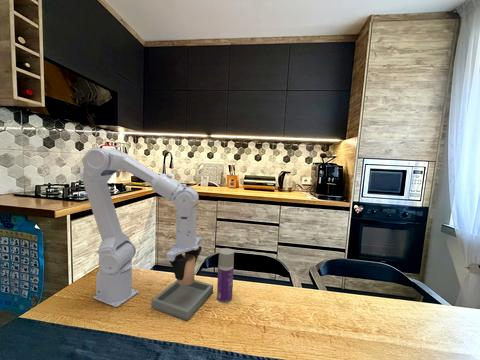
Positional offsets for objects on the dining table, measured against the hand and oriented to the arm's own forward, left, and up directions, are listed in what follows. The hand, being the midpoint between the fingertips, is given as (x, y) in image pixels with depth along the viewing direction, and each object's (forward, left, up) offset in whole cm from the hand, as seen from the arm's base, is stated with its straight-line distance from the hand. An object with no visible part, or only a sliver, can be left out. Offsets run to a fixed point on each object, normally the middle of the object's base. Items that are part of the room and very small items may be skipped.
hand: (184, 274), depth 66 cm
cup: (0, 0, -2) cm, 2 cm away
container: (+10, +6, -8) cm, 15 cm away
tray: (0, 0, -8) cm, 8 cm away
